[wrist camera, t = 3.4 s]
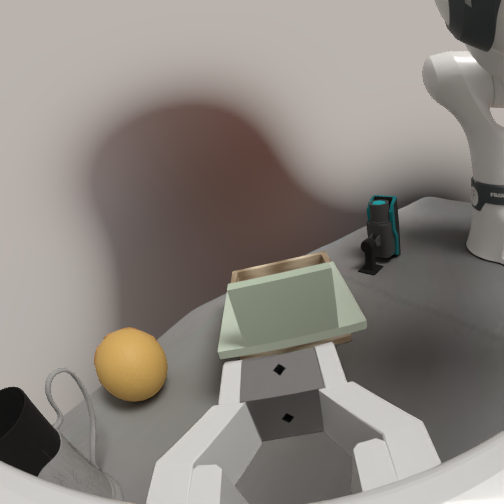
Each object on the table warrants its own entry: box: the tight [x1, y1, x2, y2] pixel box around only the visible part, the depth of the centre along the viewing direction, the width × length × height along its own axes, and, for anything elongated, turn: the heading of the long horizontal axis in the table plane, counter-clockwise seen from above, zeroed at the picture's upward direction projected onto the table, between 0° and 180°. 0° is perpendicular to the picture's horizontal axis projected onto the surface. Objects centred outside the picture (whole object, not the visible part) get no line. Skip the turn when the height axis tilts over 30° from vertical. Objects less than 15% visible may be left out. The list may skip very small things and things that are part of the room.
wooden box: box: [231, 251, 351, 360], centre depth 43 cm, size 15×13×8 cm
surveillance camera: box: [358, 195, 400, 275], centre depth 53 cm, size 6×12×10 cm
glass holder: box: [0, 368, 123, 501], centre depth 19 cm, size 9×14×15 cm, turn 164°
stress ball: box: [94, 327, 168, 402], centre depth 35 cm, size 10×10×10 cm
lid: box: [218, 262, 367, 359], centre depth 33 cm, size 15×14×7 cm
